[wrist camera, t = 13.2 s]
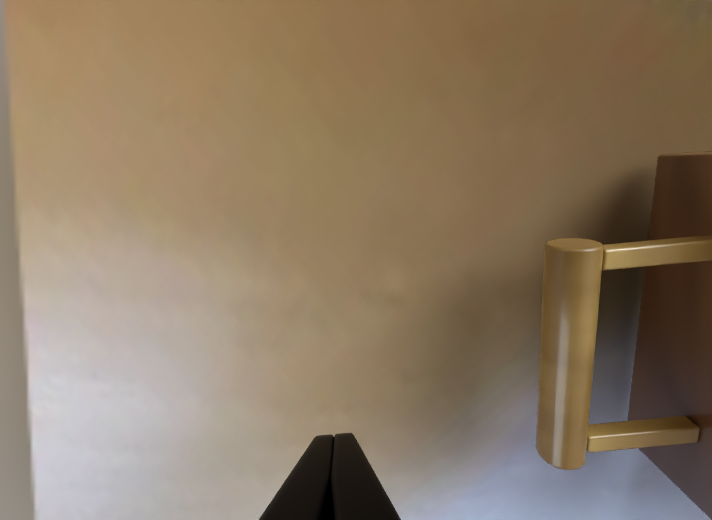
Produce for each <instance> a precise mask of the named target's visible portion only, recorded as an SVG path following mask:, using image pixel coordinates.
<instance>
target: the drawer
mask: <svg viewBox="0 0 712 520" xmlns="http://www.w3.org/2000/svg"><path fill="white" fill-rule="evenodd" d="M635 267H645V273H644V282H643V290H642V299H641V307H640V316H639V325H638V333H637V342H636V351H635V359H634V368H633V376H632V385H631V394H630V402H629V411H628V420H627V421H622V422H611V423H600V424H589V414H590V402H591V390H592V378H593V367H594V355H595V343H596V331H597V319H598V307H599V296H600V284H601V272H602V270H614V269H624V268H635ZM633 448H638V449H639V450H641V451H642V452H643V453H644V454H645V455H646V456H647V457H648V458H649V459H650V460H651V461H652V462H653V463H654V464H655V465H656V466H657V467H658V468H659V469H660V470H661V471H662V472H663V473H664V474H665V475H666V476H667V477H668V478H669V479H670V480H671V481H672V482H673V483H674V484H675V485H676V486H677V487H678V488H679V489H680V490H681V491H682V492H683V493H685V494H686V495H687V496H688V497H689V498H690V499H691V500H692V501H693V502H694V503H695V504H696V505H697V506H698V507H699V508H700V509H701V510H702V511H703V512H704V513H705V514H706V515H707V516H708V517H709V518H710V519H711V520H712V152H689V153H678V154H668V155H661V156H659V157H658V161H657V169H656V178H655V187H654V195H653V204H652V213H651V221H650V230H649V238H648V241H639V242H628V243H617V244H606V245H602V243H600V242H597V241H594V240H589V239H581V238H561V239H554V240H550V241H548V242H546V244H545V246H544V270H543V293H542V317H541V340H540V364H539V387H538V411H537V435H536V449H537V452H538V454H539V455H540V457H541V458H542V459H543V460H544V461H545V462H547V463H548V464H550V465H552V466H554V467H556V468H559V469H564V470H575V469H578V468H580V467H582V465H583V464H584V463H585V460H586V451H587V452H601V451H612V450H622V449H633Z"/></svg>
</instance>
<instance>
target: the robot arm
mask: <svg viewBox="0 0 712 520" xmlns="http://www.w3.org/2000/svg"><path fill="white" fill-rule="evenodd" d="M259 520H401V519H400V517H399V515H398V514H397V512H396V510H395V508H394V506H393V505H392V503H391V501H390V499H389V497H388V496H387V494H386V492H385V490H384V489H383V487H382V485H381V483H380V481H379V480H378V478H377V476H376V474H375V472H374V471H373V469H372V467H371V465H370V463H369V462H368V460H367V458H366V456H365V455H364V453H363V451H362V449H361V447H360V446H359V444H358V442H357V440H356V438H355V437H354V435H353V434H352V433H342V434H336V435H335V437H334V436H333V435H320V436H316V437H315V438H314V439H313V441H312V442H311V444H310V445H309V447H308V448H307V450H306V451H305V452H304V454H303V455H302V457H301V458H300V460H299V461H298V463H297V464H296V466H295V467H294V469H293V470H292V472H291V473H290V475H289V476H288V478H287V479H286V480H285V482H284V483H283V485H282V486H281V488H280V489H279V491H278V492H277V494H276V495H275V497H274V498H273V500H272V501H271V503H270V504H269V505H268V507H267V508H266V510H265V511H264V513H263V514H262V516H261V517H260V519H259Z"/></svg>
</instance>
